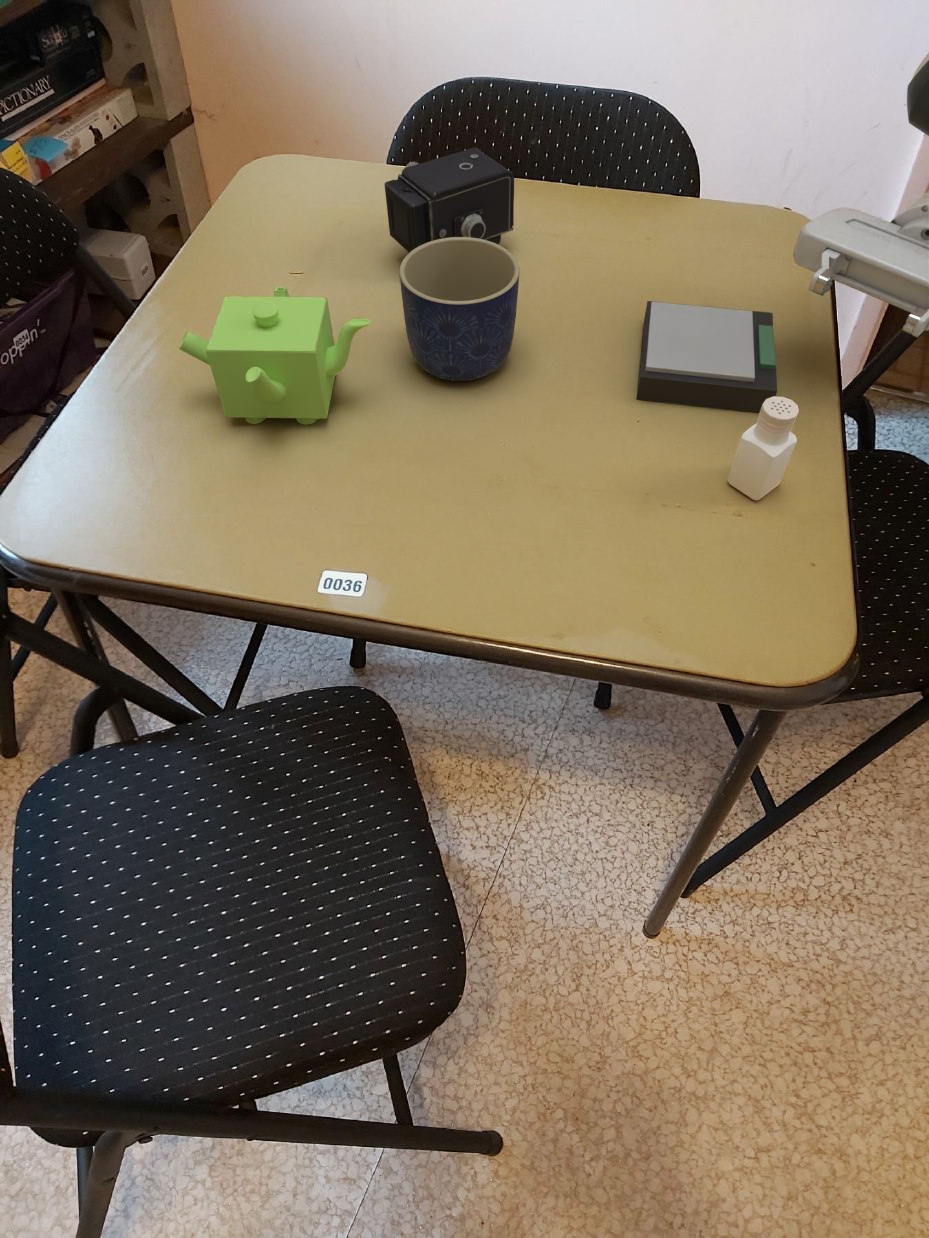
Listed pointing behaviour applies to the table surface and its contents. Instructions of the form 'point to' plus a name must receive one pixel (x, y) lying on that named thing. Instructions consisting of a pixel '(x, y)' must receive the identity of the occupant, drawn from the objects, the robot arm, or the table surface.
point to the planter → (459, 306)
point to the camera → (451, 200)
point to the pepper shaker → (765, 449)
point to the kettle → (274, 356)
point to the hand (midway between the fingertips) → (863, 306)
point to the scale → (707, 357)
